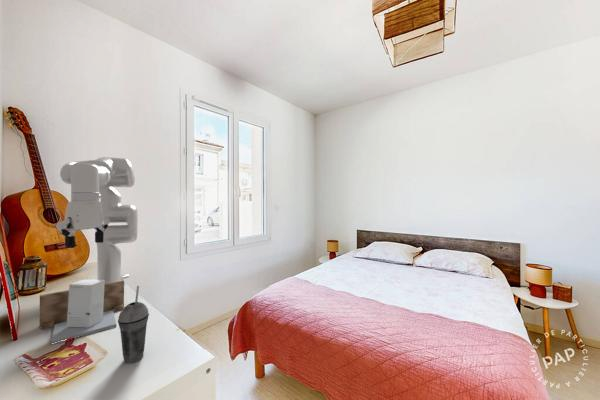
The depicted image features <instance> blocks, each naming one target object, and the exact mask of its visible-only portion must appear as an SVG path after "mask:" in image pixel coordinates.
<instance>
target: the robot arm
mask: <svg viewBox="0 0 600 400" xmlns="http://www.w3.org/2000/svg"><path fill="white" fill-rule="evenodd" d="M59 176H60V179H61V181H62V182H63V183H65V184H66V185H67V184H68V185H70V201H68V202H67V204H66V209H65V214H64V220H62V221H60V222H58V223H56V224H55V227H56V229H57V230H58V232H59V233H60V234H61V235H62V236H63V237H64V244H65V248H66V249H75V247H76V235H75V234H76V232H77V231H81V230H82V231H83V230H91V229H94V230H95V232H94V242H95V244H96V252H97V259H96V261H97V268H96V269H97V272H96V273H97V274H96V275H97V279H96V280H105V283H110V282H116V281H121V280H124V285H125V284H126V282H125V280H126V279H129V278H130V274H124V275H122V250H121V249H120V248H119V247H118V246H117V244H128V243H135V242H136V241H137V238H138V218H139V217H138V215H139V214H138V209H137V207H136V206H135V205H134V204H122V195H121V193H120V192H119V191H118V190H117V189H116V188H131V187H134V185H135V182H136V180H135V179H136V178H135V174H134V169H133V165H132V162H131V161H130V160H129V159H127V158H124V157H107V156H103V157H98V158H96V159H92V160H91V159H90V160H82V161H71V162H70V161H69V162H67V163H65V164H64V165H62V167H61V169H60V172H59ZM116 223H117V225H116ZM118 223H120V224H121V225H120V224H119V225H118ZM122 223H123V224H122ZM124 223H126V224H124ZM110 224H115V225H110Z"/></svg>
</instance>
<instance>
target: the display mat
mask: <svg viewBox="0 0 600 400" xmlns="http://www.w3.org/2000/svg"><path fill="white" fill-rule="evenodd" d="M116 327H117V321H116V317H115V314H114V310H110V311H106V312H103V320H102V321H100V322H98V323H97V324H95V325H93V326H91V327H89V328H84V327H67V321H65V322H61V323H56V324H54V326H53V328H54V329H53V333H52V337H51V341H50V343H55V342H58V341H61V340H65V339H67V338H70V337H78V336H81V337H85V336H88V335H92V334H95V333H99V332H102V331H106V330H109V329H113V328H116ZM78 338H79V337H78Z"/></svg>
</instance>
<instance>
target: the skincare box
mask: <svg viewBox="0 0 600 400" xmlns="http://www.w3.org/2000/svg"><path fill="white" fill-rule="evenodd" d="M104 285H105V280H97V279H81V280H78V281H75V282H72V283H69V285H68V286H69V288H68V290H69V299H68V314H67V321H66V322H67V327H84V328H89V327H91V326H93V325H95V324H97V323H98V322H100V321H102V320H103V313H104V312H103V304H104Z"/></svg>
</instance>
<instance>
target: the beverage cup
mask: <svg viewBox="0 0 600 400" xmlns="http://www.w3.org/2000/svg"><path fill="white" fill-rule="evenodd" d="M139 290H140V285H136V291H135V298H134V299H135V301H133V302H130V303H128V304H127V305H124V307H123V309H122V310H120V313H119V315H118V319H117V323H118V327H119V330H120V339H121V348H122V349H121V351H122V357H123V362H124V364H127V365H129V364H130V365H131V364H135V363H137V362H139V361H140V360H142V359H143V358H144V354H145V352H144V351H145V346H146V345H145V344H146V335H147V333H146V332H147V324H148V320H149V316H150V313H149V309H148V307H147V306H146V304H145V303H143V302H141V301H138V300H139V299H138V298H139Z"/></svg>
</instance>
